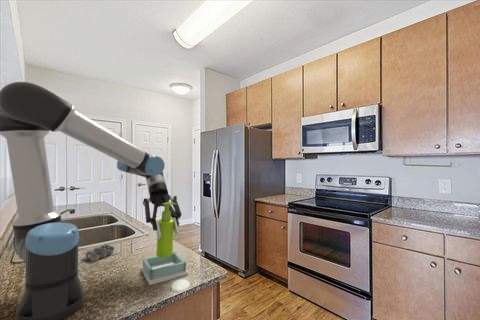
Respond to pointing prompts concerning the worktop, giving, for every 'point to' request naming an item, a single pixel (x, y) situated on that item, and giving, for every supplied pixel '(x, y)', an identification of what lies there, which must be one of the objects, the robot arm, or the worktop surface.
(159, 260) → the cradle
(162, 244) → the soap dispenser
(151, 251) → the worktop surface
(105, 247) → the egg carton
